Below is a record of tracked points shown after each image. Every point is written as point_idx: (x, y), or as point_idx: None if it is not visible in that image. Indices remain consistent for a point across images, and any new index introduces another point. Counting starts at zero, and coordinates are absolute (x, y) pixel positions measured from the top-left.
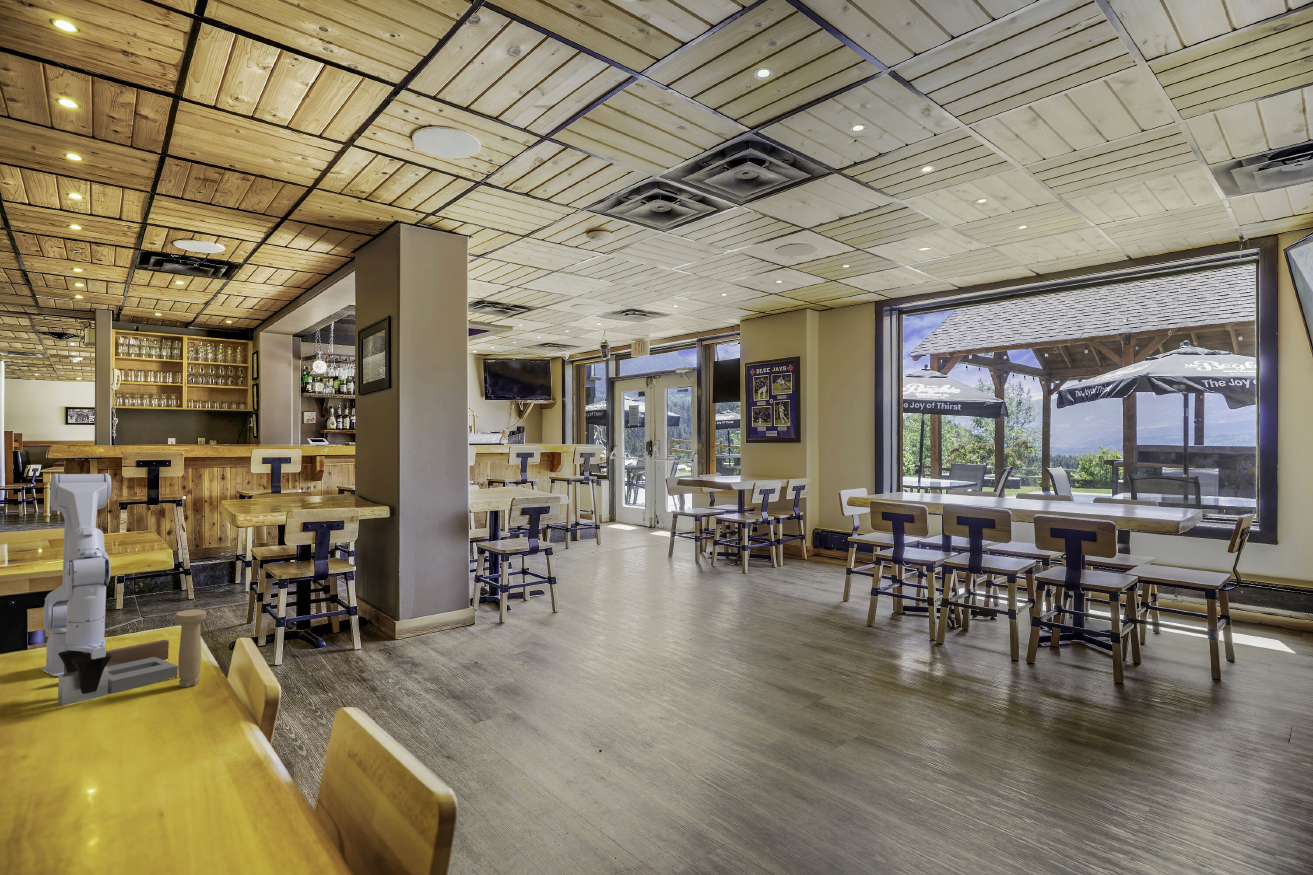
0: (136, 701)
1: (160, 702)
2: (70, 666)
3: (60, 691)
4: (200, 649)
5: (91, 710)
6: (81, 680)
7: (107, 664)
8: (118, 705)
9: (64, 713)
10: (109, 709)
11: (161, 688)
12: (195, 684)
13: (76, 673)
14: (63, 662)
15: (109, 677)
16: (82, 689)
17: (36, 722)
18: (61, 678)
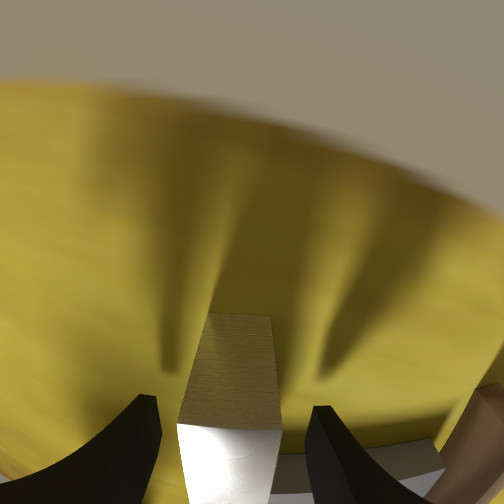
0: (60, 429)
1: (20, 434)
2: (343, 500)
3: (234, 353)
4: None
5: (48, 339)
6: (95, 436)
7: (443, 492)
8: (51, 396)
9: (77, 274)
10: (27, 366)
11: (145, 497)
12: None
13: (210, 479)
14: (412, 497)
15: (276, 498)
16: (127, 406)
17: (47, 164)
18: (214, 414)
